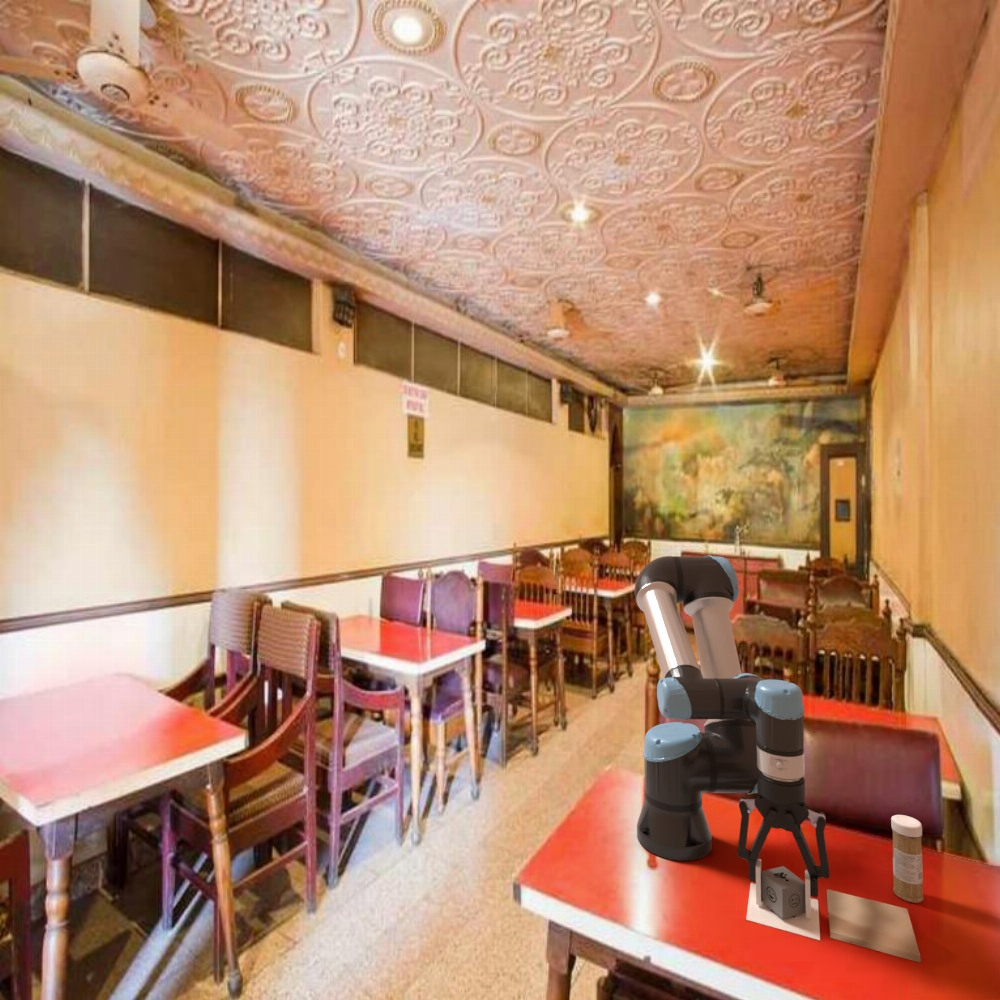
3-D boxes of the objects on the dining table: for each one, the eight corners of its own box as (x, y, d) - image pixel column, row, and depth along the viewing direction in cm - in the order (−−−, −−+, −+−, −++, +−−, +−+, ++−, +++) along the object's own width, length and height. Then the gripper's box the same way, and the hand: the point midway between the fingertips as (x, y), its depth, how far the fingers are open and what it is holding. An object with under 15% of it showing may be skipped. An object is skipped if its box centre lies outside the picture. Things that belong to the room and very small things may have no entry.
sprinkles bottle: (902, 885, 108) (900, 811, 108) (929, 899, 104) (927, 822, 104) (887, 892, 106) (885, 817, 106) (914, 907, 102) (912, 829, 102)
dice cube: (783, 894, 105) (783, 866, 105) (806, 912, 100) (806, 883, 100) (760, 899, 103) (760, 871, 103) (782, 919, 98) (782, 889, 98)
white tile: (746, 919, 99) (746, 919, 99) (750, 883, 109) (750, 882, 109) (820, 940, 94) (820, 939, 94) (817, 900, 104) (817, 899, 104)
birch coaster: (830, 937, 95) (830, 931, 95) (827, 894, 106) (826, 889, 106) (920, 962, 89) (920, 956, 89) (907, 914, 100) (907, 908, 100)
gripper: (717, 770, 103) (719, 903, 103) (848, 794, 94) (851, 939, 94) (722, 754, 110) (724, 878, 109) (845, 775, 101) (848, 910, 100)
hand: (783, 906), depth 102 cm, fingers closed on dice cube, 7 cm apart
